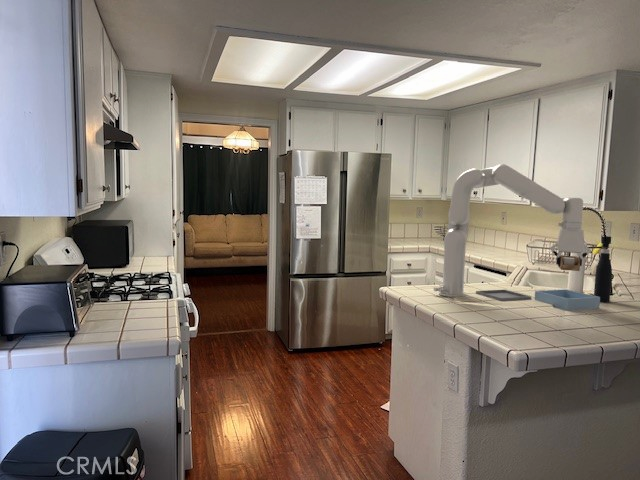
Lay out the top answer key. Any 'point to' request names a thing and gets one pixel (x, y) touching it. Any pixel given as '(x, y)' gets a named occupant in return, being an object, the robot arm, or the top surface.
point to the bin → (568, 299)
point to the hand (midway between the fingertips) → (568, 266)
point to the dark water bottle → (603, 273)
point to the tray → (503, 295)
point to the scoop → (570, 267)
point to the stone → (568, 261)
